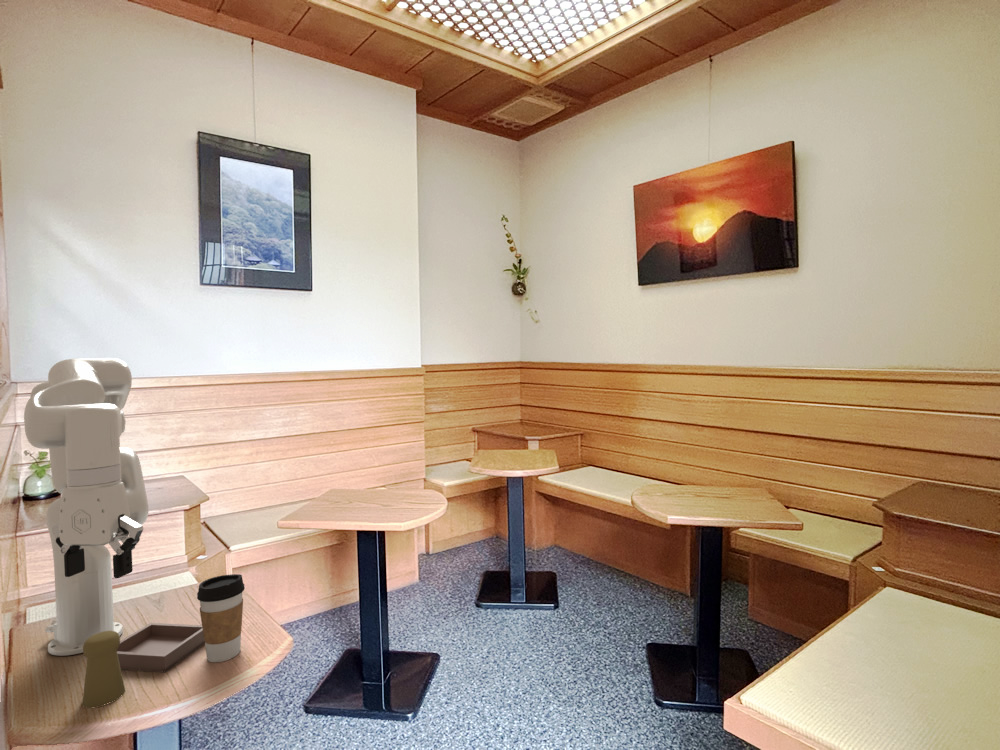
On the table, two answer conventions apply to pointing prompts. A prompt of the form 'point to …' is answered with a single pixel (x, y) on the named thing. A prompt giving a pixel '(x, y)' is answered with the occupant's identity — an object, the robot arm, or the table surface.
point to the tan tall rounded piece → (102, 669)
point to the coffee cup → (221, 615)
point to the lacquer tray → (159, 646)
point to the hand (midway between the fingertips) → (99, 574)
